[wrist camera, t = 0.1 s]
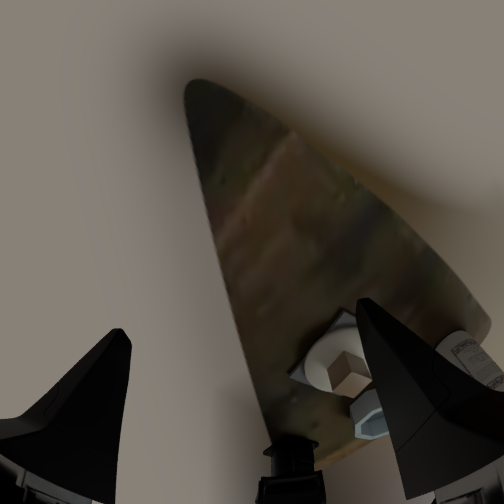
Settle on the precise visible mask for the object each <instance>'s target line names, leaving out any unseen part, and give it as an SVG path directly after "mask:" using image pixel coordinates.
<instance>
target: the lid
mask: <svg viewBox="0 0 504 504" xmlns="http://www.w3.org/2000/svg"><path fill="white" fill-rule="evenodd" d="M304 369H305V375H306V378H307V380H308V381H309V382H310V384H311V385H313V386H314V387H316V388H317V389H320V390H323V391H328V392H336V393H339V394H342V395H345V396H348V397H351V398H354V397H356V396H357V395H358V394H359V393H360V392H361V391H362V390H363V389H364V388H365V387H366V386H367V385H368V384H369V383H370V382H371V381H372V377H371V374H370V371H369V369H368V366H367V363H366V360H365V357H364V353H363V348H362V344H361V340H360V336H359V332H358V327H345V328H341V329H337V330H334V331H332V332H330V333H328V334H326V335H324V336H323V337H321V338H320V339H319V340H317V341H316V342H315V343H314V344H313V345H312V347H311V348H310V349H309V351H308V353H307V355H306V357H305V361H304Z"/></svg>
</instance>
